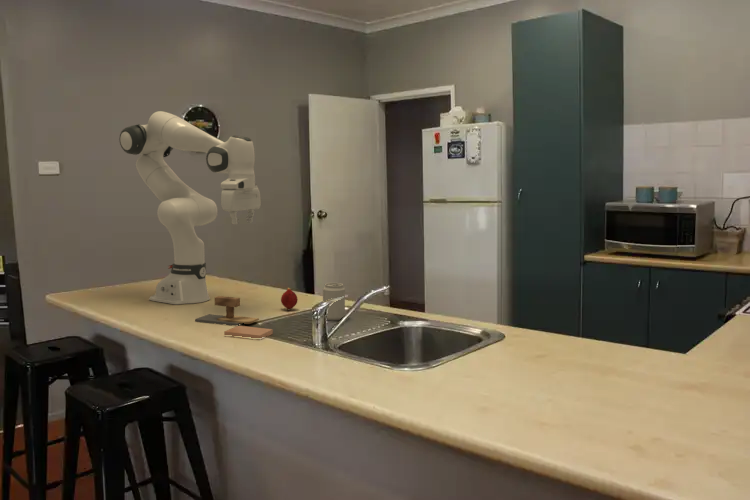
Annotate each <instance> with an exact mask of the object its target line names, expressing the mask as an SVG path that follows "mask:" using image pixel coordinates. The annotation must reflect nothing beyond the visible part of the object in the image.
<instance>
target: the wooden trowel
mask: <svg viewBox="0 0 750 500" xmlns="http://www.w3.org/2000/svg"><path fill="white" fill-rule="evenodd" d="M214 306H219V307H225V315H223V317H221V318H218V319H217V321H226V322H235V323H244V324H246V325H250V324H253V323H255V322H258V321H259V320H260V318H259V317H249V316H241V315H235V308H237V307H240V306H241V297H234V296H224V295H223V296H222V295H218V296H215V297H214ZM244 324H243V325H244Z"/></svg>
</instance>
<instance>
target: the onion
mask: <svg viewBox="0 0 750 500" xmlns="http://www.w3.org/2000/svg"><path fill="white" fill-rule="evenodd" d="M280 302H281V304H282V306H283V307H284V308H285V309H287V310H288V309H290V310H292V309H293V308H294V307H295V306H297V304H298V296H297V294H296V292H295V291H293V289H291V288H290V287H287V289H286V291H284V292H283V294H282V295H281V297H280Z"/></svg>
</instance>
